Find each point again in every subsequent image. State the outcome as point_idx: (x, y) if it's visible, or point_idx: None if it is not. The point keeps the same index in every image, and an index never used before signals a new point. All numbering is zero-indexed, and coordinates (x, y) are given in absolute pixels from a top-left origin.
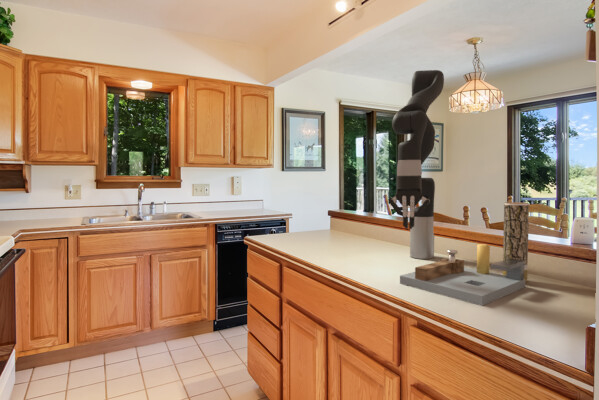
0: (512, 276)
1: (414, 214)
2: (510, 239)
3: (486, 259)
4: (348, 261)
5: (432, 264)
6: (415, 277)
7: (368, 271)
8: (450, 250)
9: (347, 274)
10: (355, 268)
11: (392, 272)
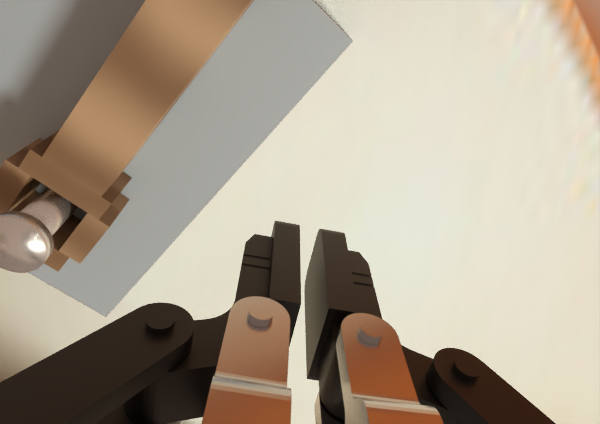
0: None
1: (219, 340)
2: None
3: None
4: (528, 375)
5: (154, 86)
6: None
7: (470, 235)
8: (23, 246)
9: (588, 168)
10: (522, 275)
11: (358, 234)
